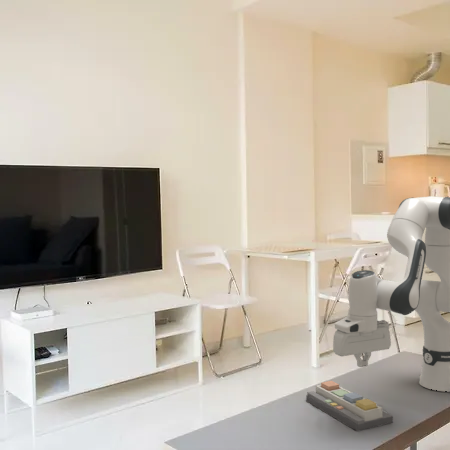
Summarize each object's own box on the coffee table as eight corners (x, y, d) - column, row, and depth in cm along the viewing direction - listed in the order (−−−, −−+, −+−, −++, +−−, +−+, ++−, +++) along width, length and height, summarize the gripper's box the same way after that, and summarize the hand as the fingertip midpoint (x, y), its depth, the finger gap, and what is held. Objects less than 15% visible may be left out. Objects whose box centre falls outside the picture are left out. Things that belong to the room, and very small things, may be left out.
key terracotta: (331, 387, 189) (331, 380, 189) (339, 391, 185) (339, 384, 185) (321, 389, 187) (321, 382, 187) (328, 393, 183) (328, 386, 183)
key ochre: (366, 406, 173) (366, 398, 172) (376, 411, 169) (376, 403, 168) (355, 408, 171) (355, 400, 171) (365, 413, 167) (365, 405, 167)
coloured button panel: (339, 394, 193) (339, 380, 193) (392, 422, 169) (392, 406, 169) (306, 400, 187) (306, 386, 187) (357, 431, 163) (357, 415, 163)
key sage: (342, 396, 184) (342, 389, 184) (350, 401, 180) (350, 393, 180) (332, 399, 182) (332, 391, 182) (340, 403, 178) (340, 396, 178)
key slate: (354, 399, 178) (354, 392, 178) (363, 404, 174) (363, 396, 174) (343, 401, 176) (343, 394, 176) (352, 406, 172) (352, 398, 172)
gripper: (381, 317, 177) (381, 359, 177) (330, 323, 168) (330, 367, 169) (395, 321, 171) (395, 364, 172) (342, 328, 162) (342, 373, 163)
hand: (362, 366), depth 170 cm, fingers closed
